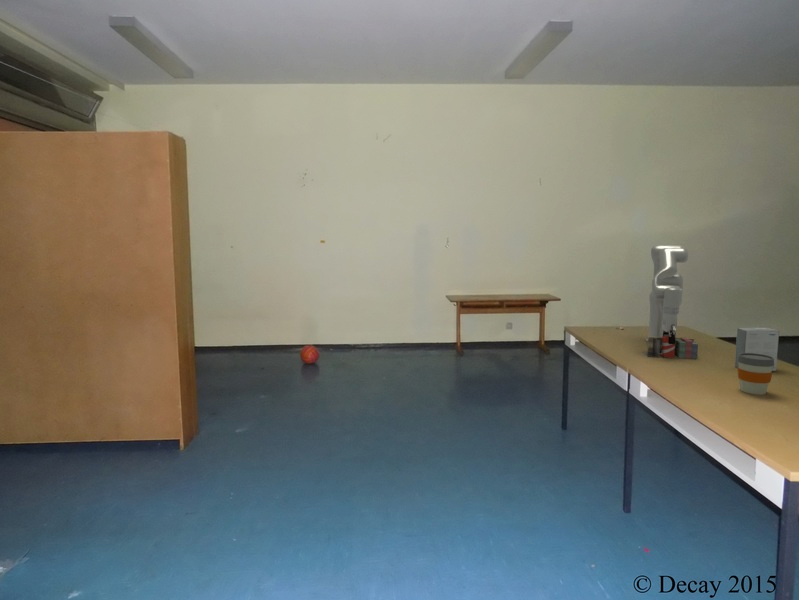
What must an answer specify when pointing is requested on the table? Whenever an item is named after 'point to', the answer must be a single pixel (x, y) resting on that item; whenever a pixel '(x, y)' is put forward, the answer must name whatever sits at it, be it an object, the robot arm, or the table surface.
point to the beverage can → (667, 347)
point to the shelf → (678, 347)
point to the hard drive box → (757, 343)
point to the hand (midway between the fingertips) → (668, 341)
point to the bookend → (654, 349)
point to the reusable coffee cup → (755, 372)
